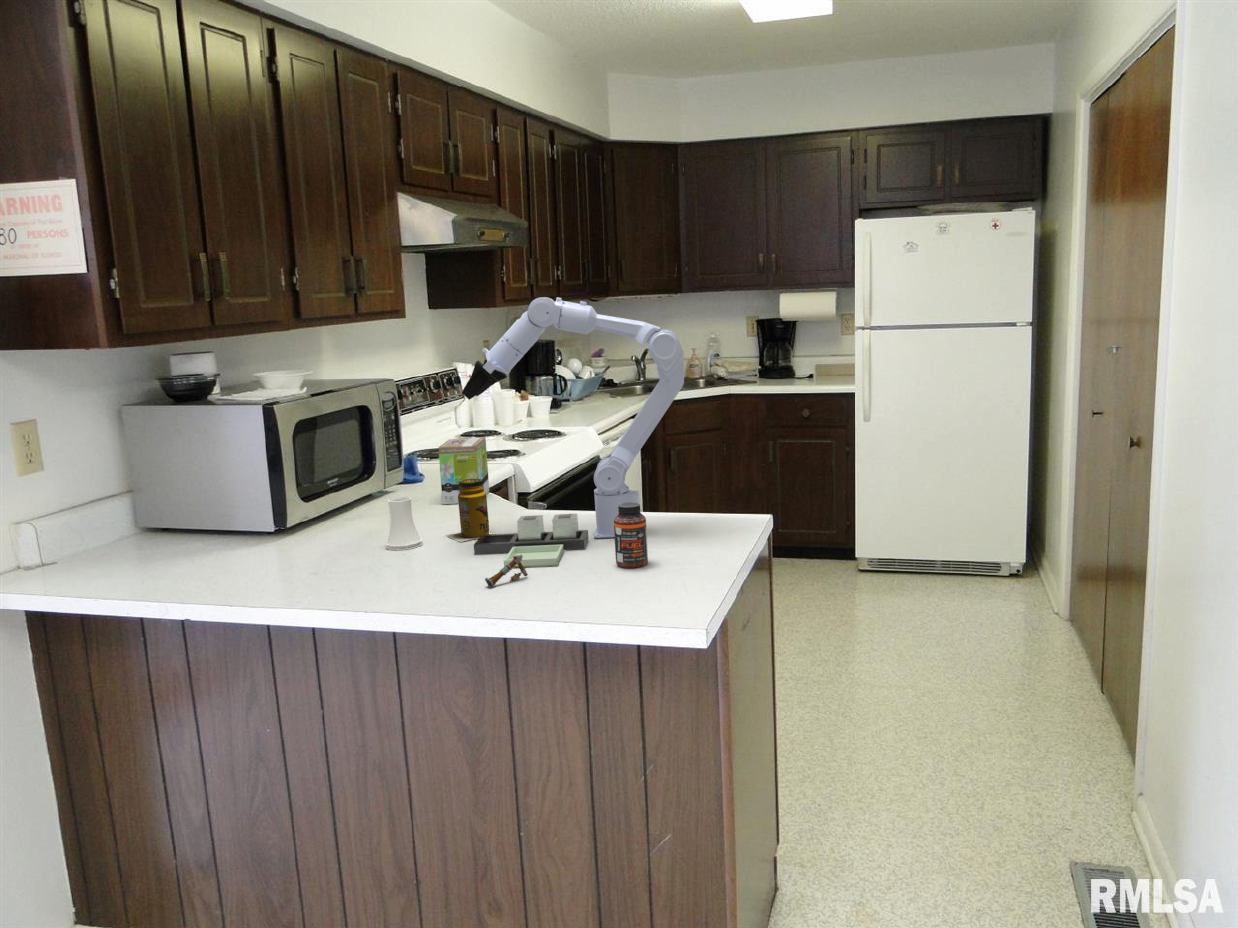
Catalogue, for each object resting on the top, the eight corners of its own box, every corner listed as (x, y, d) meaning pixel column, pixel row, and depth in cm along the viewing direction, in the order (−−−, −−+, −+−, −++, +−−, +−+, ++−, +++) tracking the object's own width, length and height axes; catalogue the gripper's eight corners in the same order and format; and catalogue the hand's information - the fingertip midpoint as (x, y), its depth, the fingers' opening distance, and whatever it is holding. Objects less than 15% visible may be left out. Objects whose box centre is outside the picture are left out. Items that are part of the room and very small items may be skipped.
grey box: (545, 543, 201) (542, 514, 200) (541, 549, 197) (539, 519, 196) (523, 544, 201) (520, 515, 200) (519, 550, 197) (516, 520, 196)
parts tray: (563, 551, 194) (563, 544, 193) (557, 566, 184) (556, 558, 184) (513, 554, 194) (512, 546, 194) (504, 568, 185) (503, 560, 184)
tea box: (482, 503, 245) (476, 444, 243) (441, 505, 246) (436, 446, 243) (490, 491, 260) (485, 435, 258) (452, 493, 261) (447, 437, 258)
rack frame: (588, 539, 202) (588, 529, 202) (584, 549, 194) (584, 539, 194) (482, 544, 204) (481, 534, 203) (474, 554, 196) (473, 544, 196)
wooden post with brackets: (533, 572, 178) (523, 552, 176) (500, 599, 174) (489, 579, 172) (527, 570, 179) (517, 550, 177) (494, 597, 175) (483, 577, 173)
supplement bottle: (621, 570, 178) (617, 509, 176) (612, 562, 184) (608, 503, 182) (652, 566, 180) (649, 505, 178) (643, 558, 185) (639, 499, 183)
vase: (430, 542, 208) (425, 496, 206) (404, 551, 202) (399, 504, 200) (404, 539, 212) (399, 494, 210) (378, 548, 206) (373, 501, 204)
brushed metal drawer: (579, 542, 201) (577, 512, 200) (576, 548, 196) (574, 517, 195) (557, 543, 201) (555, 513, 200) (554, 549, 197) (552, 519, 195)
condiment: (497, 535, 211) (492, 480, 209) (460, 542, 207) (455, 486, 205) (482, 529, 217) (477, 475, 215) (446, 536, 213) (441, 482, 211)
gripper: (505, 331, 207) (462, 378, 209) (492, 332, 192) (446, 383, 194) (530, 354, 207) (487, 401, 209) (519, 357, 193) (473, 408, 195)
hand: (469, 394), depth 202 cm, fingers open, 7 cm apart
